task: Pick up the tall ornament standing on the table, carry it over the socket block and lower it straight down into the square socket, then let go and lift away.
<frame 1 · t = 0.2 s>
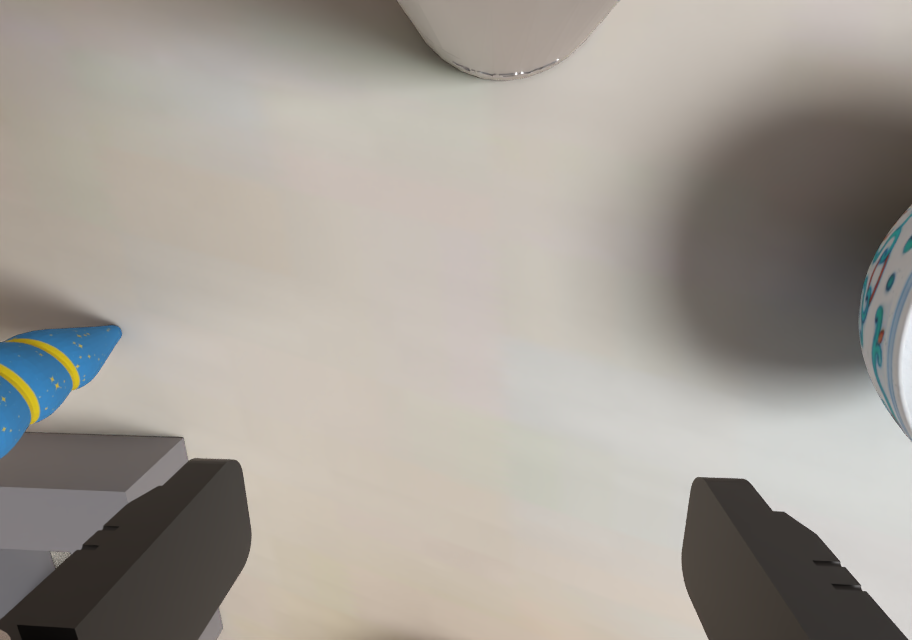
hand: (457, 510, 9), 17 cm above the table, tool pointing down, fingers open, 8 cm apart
ornament: (121, 332, 28), on the table
socket block: (93, 534, 33), on the table
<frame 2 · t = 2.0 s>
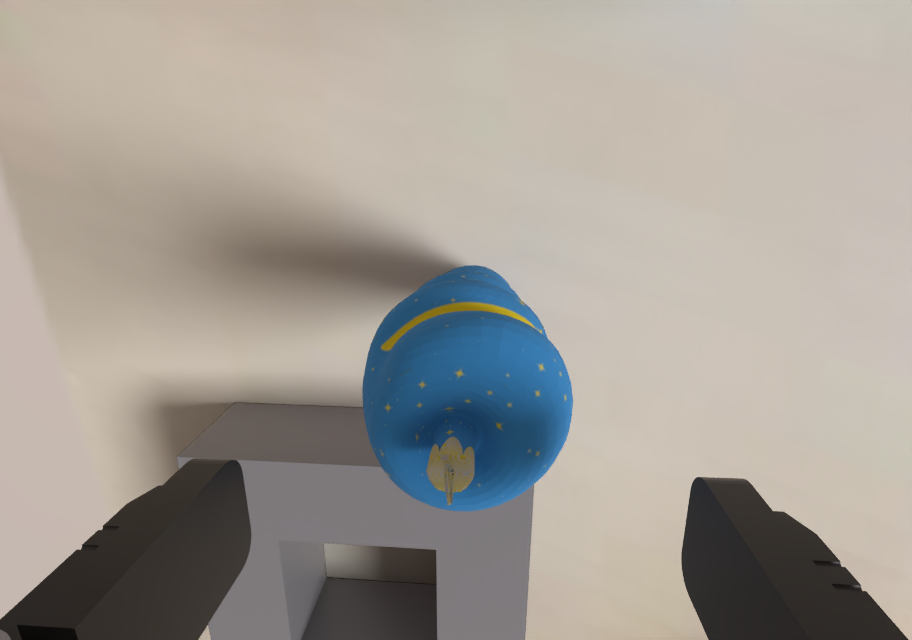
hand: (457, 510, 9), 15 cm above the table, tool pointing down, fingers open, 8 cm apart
ornament: (479, 284, 24), on the table
socket block: (384, 531, 28), on the table
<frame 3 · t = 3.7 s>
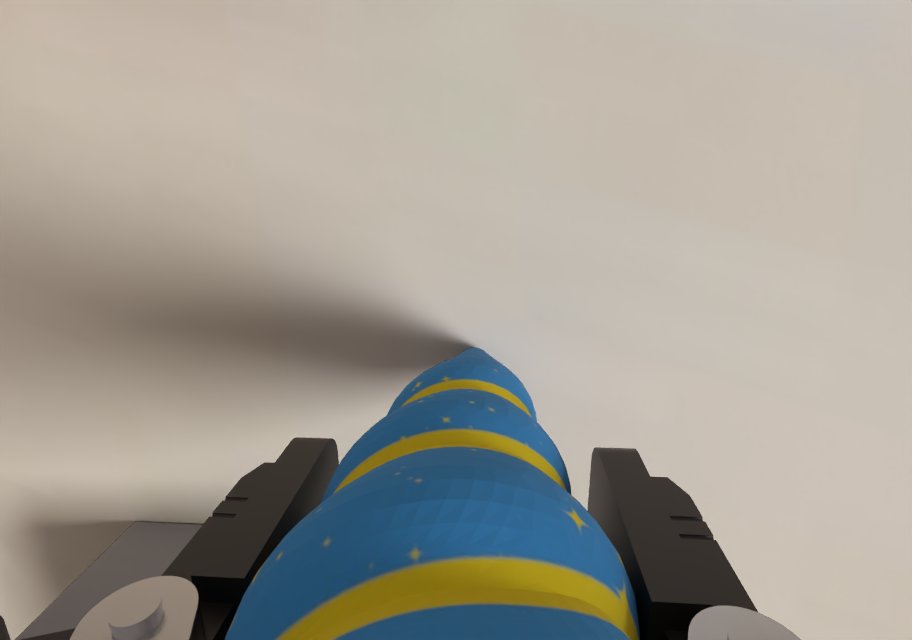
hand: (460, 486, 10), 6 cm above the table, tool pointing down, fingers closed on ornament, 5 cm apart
ornament: (475, 360, 16), on the table, touching gripper
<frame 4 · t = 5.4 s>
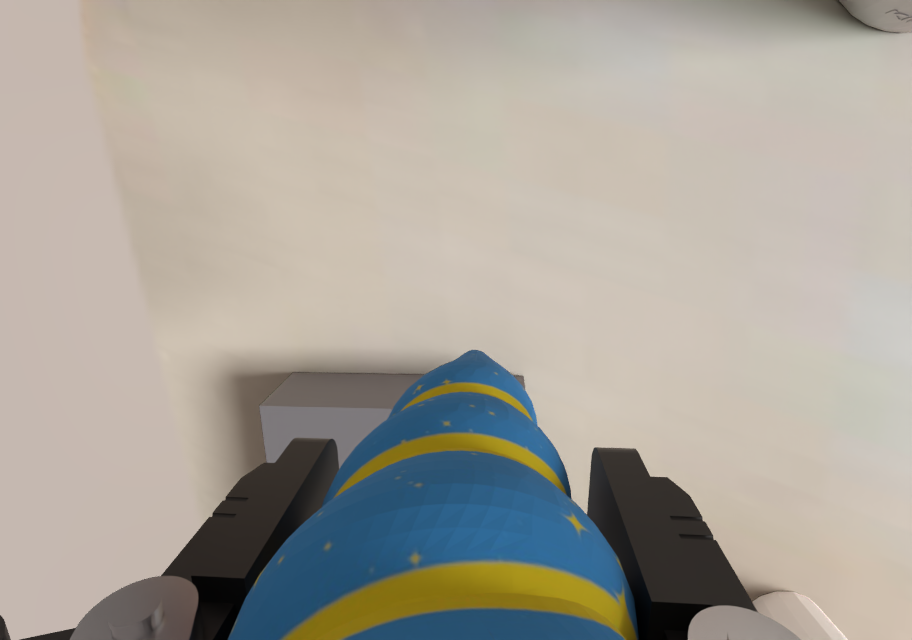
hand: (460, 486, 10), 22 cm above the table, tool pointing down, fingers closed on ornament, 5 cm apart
ornament: (476, 362, 16), point 15 cm above the table, touching gripper
socket block: (410, 476, 35), on the table
white short cylinder: (778, 620, 36), on the table
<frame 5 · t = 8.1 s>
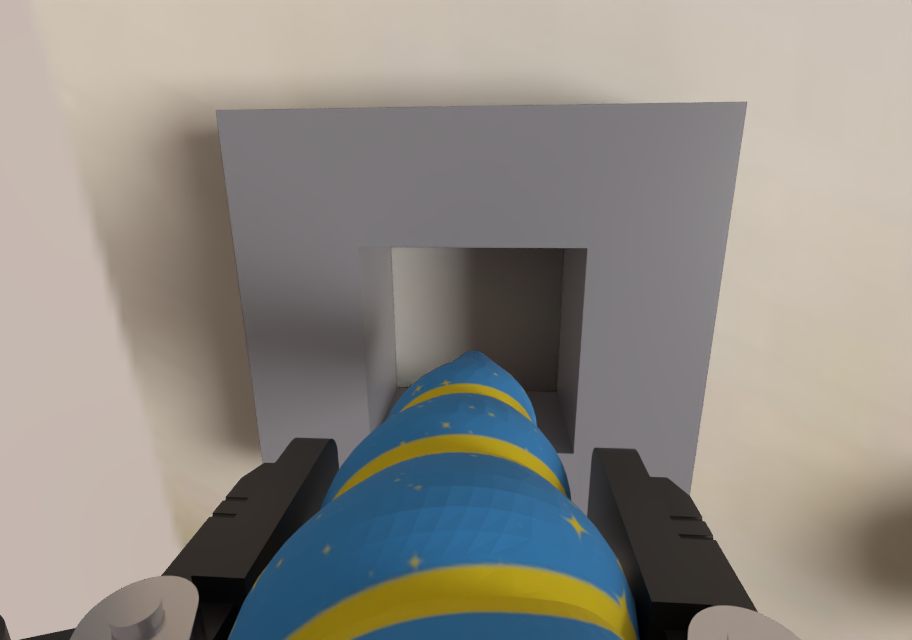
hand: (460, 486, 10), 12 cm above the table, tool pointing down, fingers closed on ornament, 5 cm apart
ornament: (475, 363, 16), point 6 cm above the table, touching gripper
socket block: (476, 312, 21), on the table
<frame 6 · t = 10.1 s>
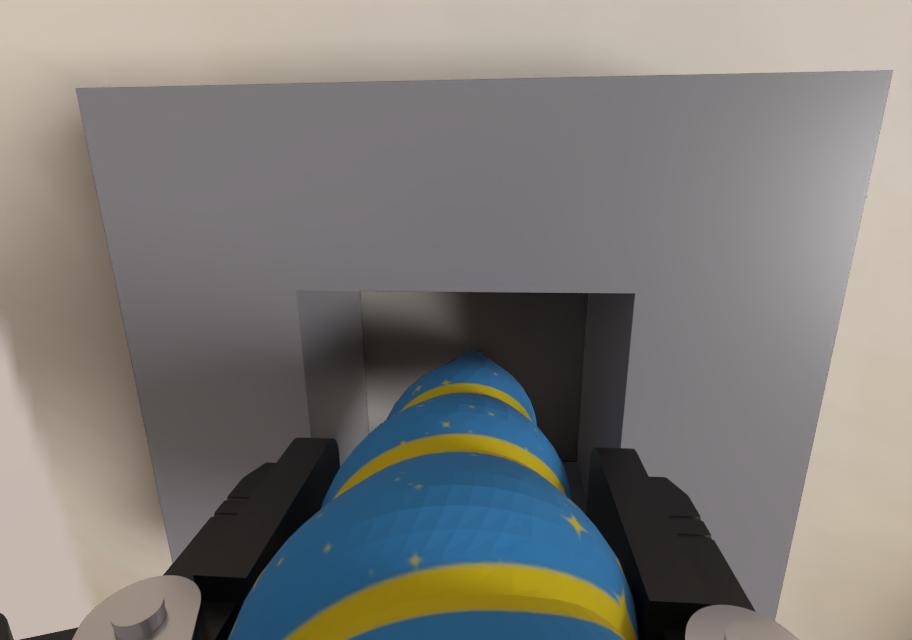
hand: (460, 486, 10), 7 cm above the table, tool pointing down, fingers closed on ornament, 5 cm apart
ornament: (475, 363, 16), resting in socket block, touching gripper
socket block: (472, 362, 16), on the table
when the fingers open (7 cm above the table, at t = 10.3 s): ornament stays where it is, resting in socket block.
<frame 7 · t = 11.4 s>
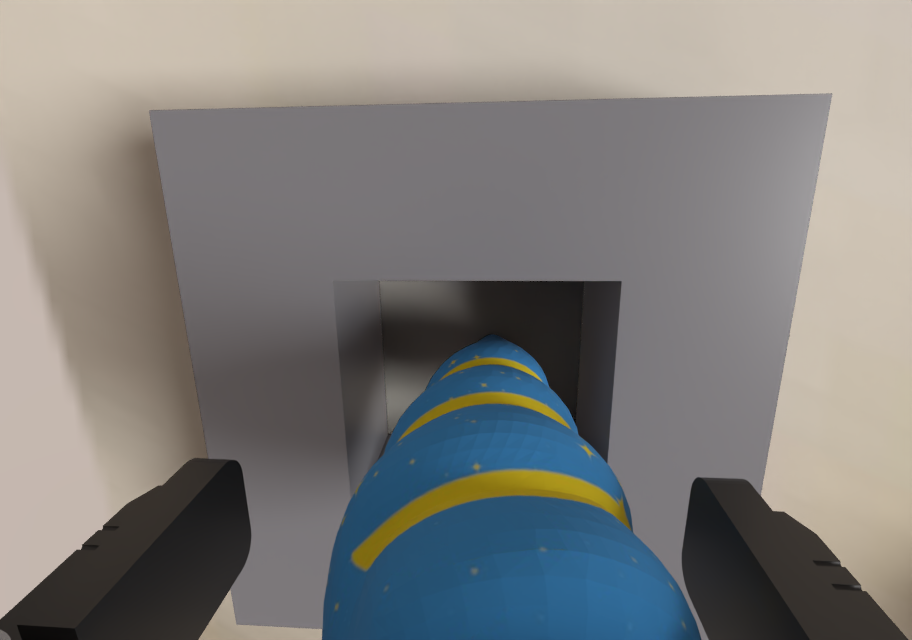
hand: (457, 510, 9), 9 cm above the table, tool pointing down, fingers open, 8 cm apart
ornament: (493, 346, 18), resting in socket block
socket block: (480, 348, 18), on the table
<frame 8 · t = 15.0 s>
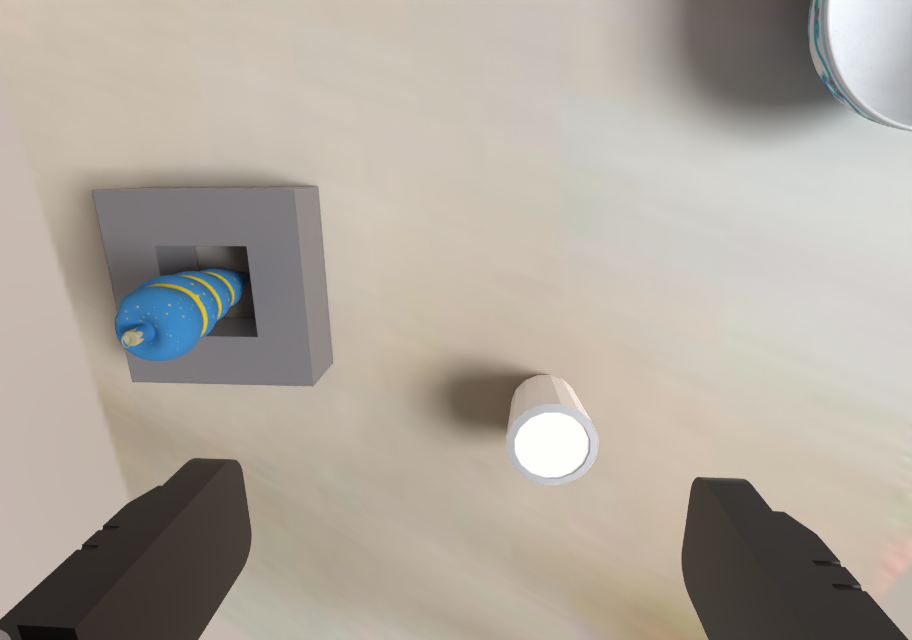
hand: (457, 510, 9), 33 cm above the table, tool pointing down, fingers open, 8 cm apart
chinaware: (872, 23, 35), on the table
ornament: (245, 277, 43), resting in socket block
socket block: (239, 278, 43), on the table
white short cylinder: (543, 403, 45), on the table
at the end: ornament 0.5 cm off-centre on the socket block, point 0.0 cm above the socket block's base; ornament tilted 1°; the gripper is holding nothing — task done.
